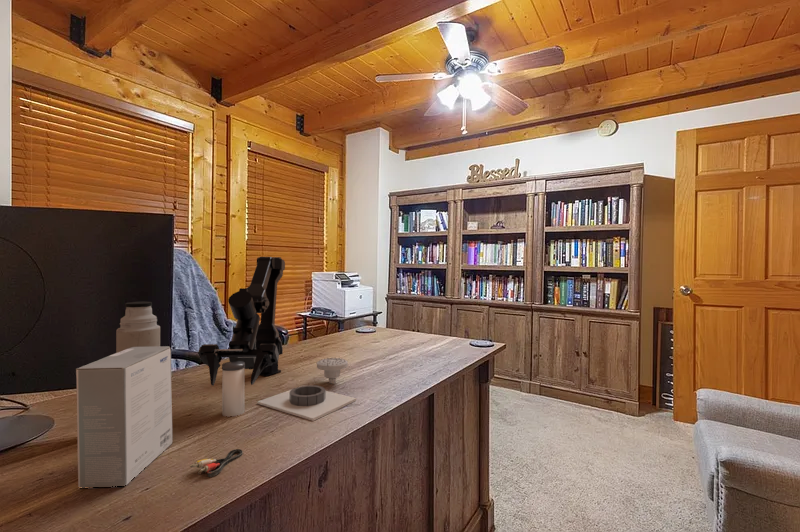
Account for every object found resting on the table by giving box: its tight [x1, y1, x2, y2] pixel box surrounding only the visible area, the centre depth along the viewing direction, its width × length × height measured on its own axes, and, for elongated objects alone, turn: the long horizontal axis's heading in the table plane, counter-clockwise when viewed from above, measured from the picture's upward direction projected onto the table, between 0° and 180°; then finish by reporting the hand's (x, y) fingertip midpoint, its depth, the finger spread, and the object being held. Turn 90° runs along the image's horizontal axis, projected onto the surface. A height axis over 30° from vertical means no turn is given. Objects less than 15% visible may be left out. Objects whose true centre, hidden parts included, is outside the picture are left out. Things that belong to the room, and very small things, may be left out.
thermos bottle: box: [115, 301, 161, 353], centre depth 85 cm, size 8×8×28 cm
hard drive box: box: [75, 345, 173, 488], centre depth 70 cm, size 16×8×20 cm, turn 5°
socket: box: [257, 384, 357, 422], centre depth 102 cm, size 20×16×3 cm
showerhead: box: [316, 357, 349, 384], centre depth 118 cm, size 9×7×10 cm
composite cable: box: [189, 448, 244, 478], centre depth 70 cm, size 10×5×2 cm, turn 149°
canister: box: [221, 361, 246, 418], centre depth 94 cm, size 5×5×12 cm
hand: (232, 384), depth 93 cm, fingers open, 9 cm apart
